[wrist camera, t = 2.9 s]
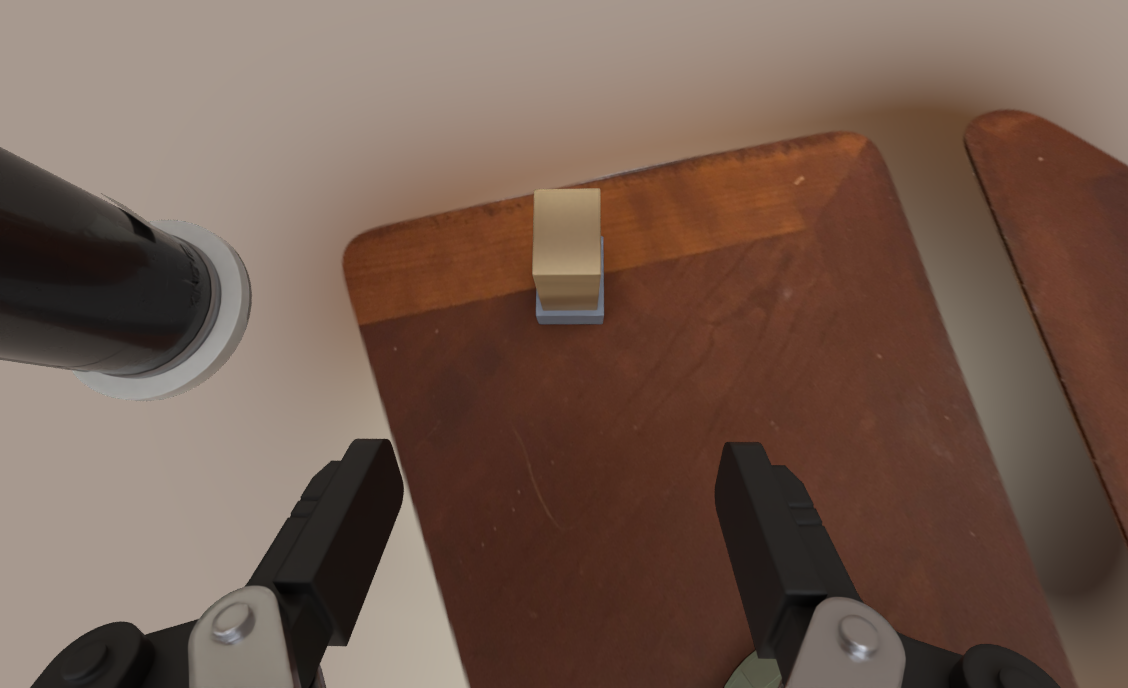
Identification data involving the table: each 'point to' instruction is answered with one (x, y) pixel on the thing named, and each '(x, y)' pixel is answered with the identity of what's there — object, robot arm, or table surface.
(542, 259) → the eraser
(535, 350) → the table surface
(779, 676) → the bowl
